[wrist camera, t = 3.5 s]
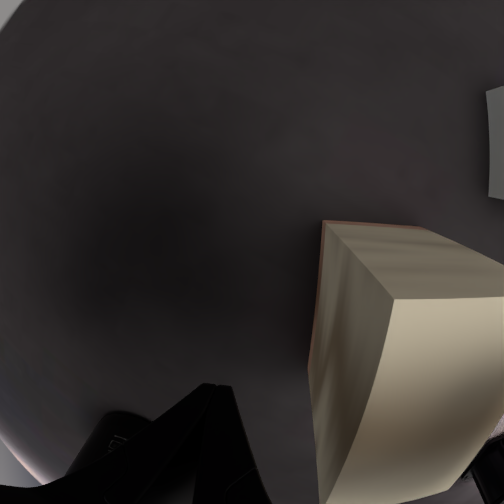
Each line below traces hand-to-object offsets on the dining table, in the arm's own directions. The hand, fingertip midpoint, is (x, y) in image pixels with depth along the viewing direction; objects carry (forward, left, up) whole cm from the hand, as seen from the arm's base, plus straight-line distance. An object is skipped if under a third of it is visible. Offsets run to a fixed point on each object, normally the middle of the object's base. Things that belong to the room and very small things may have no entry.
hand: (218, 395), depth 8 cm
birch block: (0, -6, -7) cm, 9 cm away
